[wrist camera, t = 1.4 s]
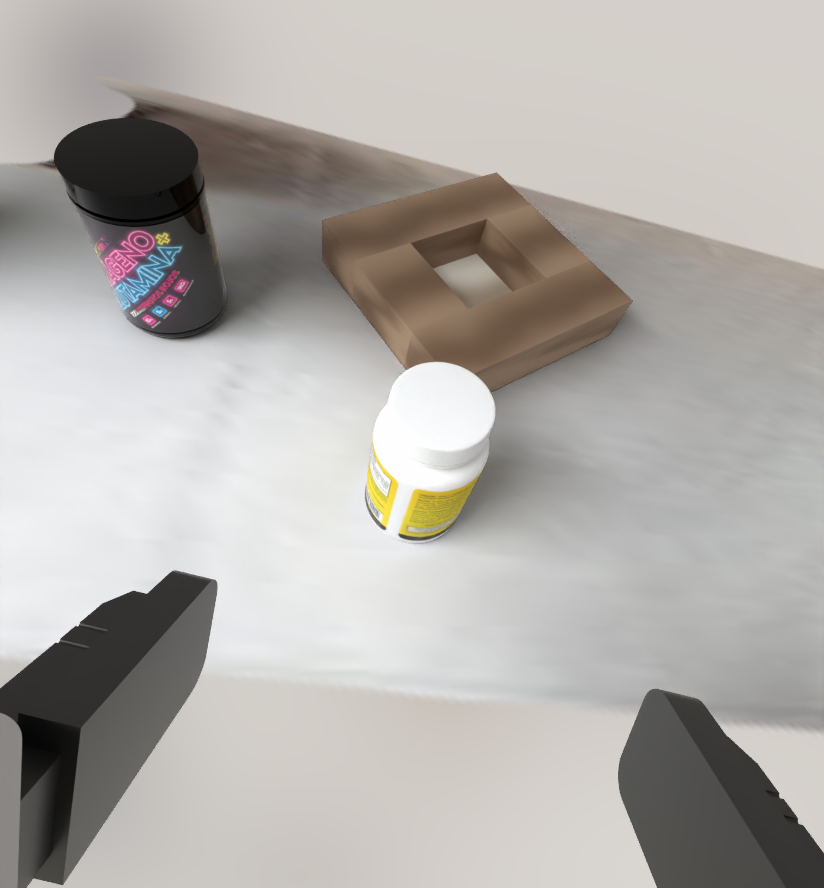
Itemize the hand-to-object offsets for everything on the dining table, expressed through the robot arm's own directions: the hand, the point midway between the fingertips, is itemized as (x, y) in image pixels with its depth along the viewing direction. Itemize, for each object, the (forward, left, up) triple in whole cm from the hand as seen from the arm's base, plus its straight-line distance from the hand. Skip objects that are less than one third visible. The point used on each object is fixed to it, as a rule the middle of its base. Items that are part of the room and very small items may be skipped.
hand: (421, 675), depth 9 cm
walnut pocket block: (-20, +21, -17) cm, 34 cm away
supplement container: (-28, +2, -17) cm, 33 cm away
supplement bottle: (-8, +8, -17) cm, 21 cm away
